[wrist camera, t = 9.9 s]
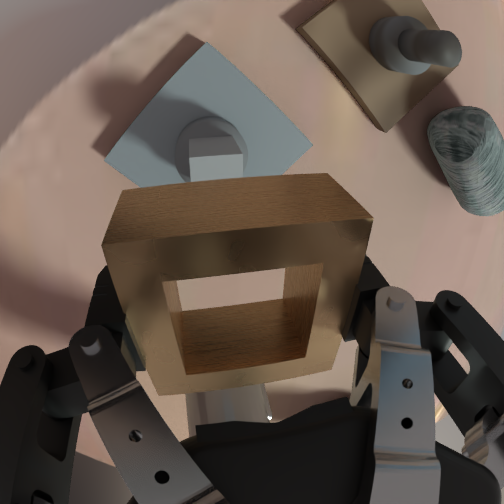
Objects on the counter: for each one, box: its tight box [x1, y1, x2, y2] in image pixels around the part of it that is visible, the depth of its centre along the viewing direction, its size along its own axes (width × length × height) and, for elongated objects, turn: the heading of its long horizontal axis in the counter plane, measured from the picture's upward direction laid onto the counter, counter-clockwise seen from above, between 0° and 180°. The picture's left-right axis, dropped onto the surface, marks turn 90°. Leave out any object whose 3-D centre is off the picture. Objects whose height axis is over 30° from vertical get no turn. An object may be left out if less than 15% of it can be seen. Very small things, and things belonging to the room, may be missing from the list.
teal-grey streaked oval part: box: [427, 106, 504, 216], centre depth 26 cm, size 14×10×10 cm
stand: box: [296, 0, 462, 133], centre depth 18 cm, size 12×12×8 cm
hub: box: [104, 42, 313, 188], centre depth 21 cm, size 12×12×8 cm
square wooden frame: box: [101, 173, 374, 396], centre depth 10 cm, size 6×6×3 cm
